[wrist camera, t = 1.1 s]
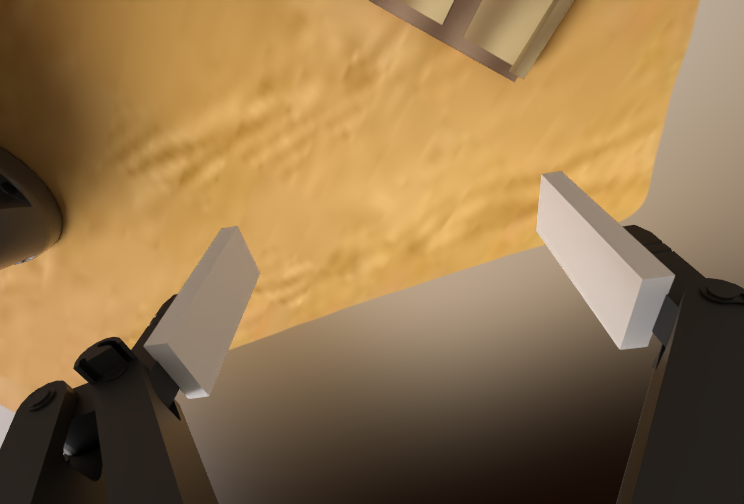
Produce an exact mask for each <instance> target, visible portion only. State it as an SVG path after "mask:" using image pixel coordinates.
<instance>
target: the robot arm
mask: <svg viewBox="0 0 744 504" xmlns="http://www.w3.org/2000/svg"><path fill="white" fill-rule="evenodd" d="M61 230H62V219H61V214H60V211H59V208H58V206H57V203H56V201H55V200H54V198H53V196H52V194H51V193H50V191H49V190H48V189H47V187H46V186H45V185H44V183H43V182H42V181H41V180H40V179H39V178H38V177H37V176H36V175H35V174H34V173H33V172H32V171H31V170H30V169H29V168H28V167H27V166H26V165H24V164H23V163H22V162H21V161H19V160H18V159H17V158H15V157H14V156H13V155H11V154H10V153H8V152H7V151H5V150H3V149H2V148H0V270H1V269H3V268H6V267H9V266H11V265H15V264H20V263H24V262H27V261H30V260H32V259H34V258H36V257H38V256H39V255H41V254H42V253H43V252H44V251H46V250H47V249H48V248H50V247H51V246H52V245H54V244H55V242H56V241H57V240H58V238H59V236H60V234H61ZM536 231H537V233H538V234H539V235H540V237H541V238H542V240H543V241H544V243H545V244H546V245H547V247H548V248H549V250H550V251H551V253H552V254H553V255H554V257H555V258H556V260H557V261H558V263H559V264H560V265H561V267H562V268H563V270H564V271H565V272H566V274H567V275H568V277H569V278H570V280H571V281H572V282H573V284H574V285H575V287H576V288H577V289H578V291H579V292H580V294H581V295H582V297H583V298H584V300H585V301H586V302H587V304H588V305H589V306H590V308H591V309H592V311H593V312H594V313H595V315H596V317H597V318H598V319H599V321H600V322H601V324H602V325H603V326H604V328H605V329H606V331H607V332H608V334H609V335H610V337H611V338H612V339H613V341H614V342H615V344H616V345H617V346H618V348H619V349H620V350H621V349H631V348H640V347H647V346H648V344H649V341H650V339H651V336H652V334H653V333H654V334H655V336H656V337H657V338H658V339H659V340H660V342H661V343H662V345H661V347H660V350H659V352H658V355H657V357H656V359H655V361H654V364H653V366H652V367H653V368H654V371H653V374H652V378H651V381H650V385H649V389H648V392H647V396H646V399H645V403H644V406H643V410H642V414H641V417H640V421H639V424H638V428H637V432H636V435H635V439H634V442H633V446H632V450H631V454H630V457H629V460H628V464H627V467H626V471H625V475H624V478H623V482H622V485H621V489H620V493H619V496H618V500H617V503H616V504H743V496H744V289H743V288H742V287H740V286H738V285H736V284H733V283H730V282H727V281H724V280H719V279H711V278H705V277H704V276H702V274H700V273H699V272H698V271H697V270H696V269H694V268H693V267H692V266H691V265H689V264H688V263H687V262H686V261H684V259H682V258H681V257H680V256H679V255H678V254H676V253H675V252H674V251H673V252H672V250H671V248H669V247H668V246H667V245H665V244H663V243H662V241H661V240H660V239H658V238H657V237H656V236H655V235H654V234H653V233H651V232H650V231H647V230H644V229H643V228H641V227H638V226H636V225H631V226H623V227H622V226H621V225H620V224H619V223H618V222H616V221H615V220H614V219H613V218H612V217H611V216H610V215H609V214H608V213H607V212H606V211H604V210H603V209H602V208H601V207H600V206H599V205H598V204H597V203H596V202H595V201H593V200H592V199H591V198H590V197H589V196H588V195H587V194H586V193H585V192H584V191H583V190H581V189H580V188H579V187H578V186H577V185H576V184H575V183H574V182H573V181H572V180H571V179H569V178H568V177H567V176H566V175H565V174H564V173H563V172H562V171H558V172H552V173H546V174H541V185H540V196H539V207H538V218H537V229H536ZM259 275H260V272H259V270H258V268H257V266H256V263H255V261H254V259H253V257H252V255H251V253H250V251H249V249H248V247H247V245H246V243H245V241H244V238H243V236H242V234H241V232H240V230H239V228H238V226H234V227H228V228H222V229H221V230H220V232H219V233H218V235H217V236H216V238H215V239H214V241H213V242H212V244H211V245H210V247H209V248H208V250H207V251H206V253H205V254H204V256H203V257H202V259H201V260H200V262H199V263H198V265H197V266H196V268H195V269H194V271H193V272H192V274H191V275H190V277H189V278H188V280H187V281H186V283H185V284H184V286H183V287H182V289H181V290H180V292H179V293H178V294H175V295H173V296H172V297H171V298H170V299H169V300H167V301H166V302H165V303H164V304H163V305H162V306H161V308H160V309H159V311H158V312H157V314H156V315H155V316H156V317H154V318H153V320H152V321H151V322H150V326H148V327H147V328H146V330H145V331H144V333H143V334H142V335H141V337H140V338H139V340H138V341H137V343H136V344H135V346H134V347H133V348H132V350H130V349H129V348H128V347H127V345H126V344H125V343H124V342H123V341H122V340H121V339H120V338H118V337H111V338H106V339H104V340H101V341H99V342H97V343H95V344H94V345H92V346H91V347H89V348H88V349H87V350H86V351H84V352H83V353H82V354H81V355H80V356H79V358H78V359H77V360H76V362H75V365H74V370H75V371H77V372H78V373H79V374H80V375H81V376H82V377H83V378H84V379H85V380H86V381H87V382H89V383H86V384H84V385H81V386H79V387H76V388H73V389H72V388H71V387H70V386H69V385H68V384H67V383H65V382H64V381H54V382H51V383H48V384H46V385H44V386H42V387H40V388H38V389H37V390H35V392H33V393H31V394H30V395H29V396H28V397H27V398H26V399H25V400H24V401H23V402H22V404H21V405H20V407H19V408H18V410H17V411H16V414H15V416H14V419H13V421H12V423H11V425H10V428H9V430H8V432H7V435H6V437H5V440H4V442H3V444H2V446H1V448H0V504H219V503H218V501H217V498H216V496H215V493H214V491H213V488H212V486H211V483H210V480H209V478H208V476H207V473H206V470H205V468H204V465H203V463H202V460H201V458H200V455H199V453H198V450H197V448H196V445H195V443H194V440H193V437H192V435H191V432H190V430H189V427H188V425H187V423H186V420H185V417H184V415H183V412H182V410H181V407H180V405H179V404H178V402H177V401H176V400H175V396H176V395H177V392H178V391H179V389H180V390H181V391H182V392H183V393H184V394H185V396H186V397H187V398H188V399H190V398H198V397H207V396H209V395H210V393H211V390H212V388H213V385H214V383H215V381H216V378H217V376H218V373H219V371H220V369H221V366H222V364H223V361H224V359H225V356H226V354H227V352H228V349H229V347H230V345H231V342H232V340H233V337H234V335H235V333H236V330H237V328H238V325H239V323H240V320H241V318H242V316H243V313H244V311H245V308H246V306H247V304H248V301H249V299H250V296H251V294H252V292H253V289H254V287H255V284H256V282H257V279H258V277H259ZM63 452H64V453H65V454H64V455H63Z"/></svg>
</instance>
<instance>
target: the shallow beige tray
mask: <svg viewBox="0 0 744 504" xmlns="http://www.w3.org/2000/svg"><path fill="white" fill-rule="evenodd" d="M369 1H370V2H372V3H374V4H376V5H378V6H379V7H381V8H383V9H385V10H386V11H388V12H390V13H392V14H394V15H395V16H397V17H399V18H401V19H403V20H404V21H406V22H408V23H410V24H411V25H413V26H415V27H417V28H419V29H420V30H422V31H424V32H426V33H428V34H429V35H431V36H433V37H435V38H436V39H438V40H440V41H442V42H444V43H445V44H447V45H449V46H451V47H453V48H454V49H456V50H458V51H460V52H461V53H463V54H465V55H467V56H469V57H470V58H472V59H474V60H476V61H478V62H479V63H481V64H483V65H485V66H486V67H488V68H490V69H492V70H494V71H495V72H497V73H499V74H501V75H503V76H504V77H506V78H508V79H510V80H511V81H513V82H515V80H516V79H517V77H520V78H522V79H524V78H525V76H526V75H527V73H528V72H529V70H530V68H531V67H532V65H533V64H534V62H535V61H536V59H537V58H538V56H539V54H540V53H541V51H542V50H543V48H544V47H545V45H546V44H547V42H548V40H549V39H550V37H551V36H552V34H553V33H554V31H555V30H556V28H557V26H558V25H559V23H560V22H561V20H562V19H563V17H564V16H565V14H566V13H567V11H568V9H569V8H570V6H571V5H572V3H573V2H574V0H369Z"/></svg>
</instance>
